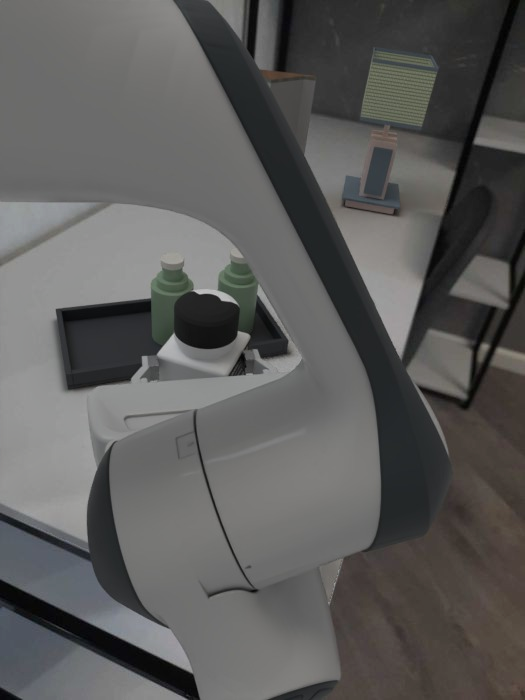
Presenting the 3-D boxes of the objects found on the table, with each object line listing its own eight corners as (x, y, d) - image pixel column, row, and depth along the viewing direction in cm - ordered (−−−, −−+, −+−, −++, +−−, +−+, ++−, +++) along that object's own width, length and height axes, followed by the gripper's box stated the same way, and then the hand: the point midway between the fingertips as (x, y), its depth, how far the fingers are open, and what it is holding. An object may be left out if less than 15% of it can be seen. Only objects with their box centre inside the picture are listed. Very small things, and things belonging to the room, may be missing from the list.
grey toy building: (296, 202, 128) (315, 75, 111) (299, 218, 120) (320, 85, 103) (210, 194, 126) (217, 64, 109) (208, 210, 118) (215, 73, 101)
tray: (67, 389, 68) (65, 374, 67) (57, 322, 79) (55, 308, 78) (286, 353, 79) (288, 340, 78) (250, 299, 90) (252, 286, 89)
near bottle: (156, 350, 76) (155, 271, 68) (148, 326, 80) (145, 249, 72) (196, 344, 78) (199, 266, 70) (186, 321, 82) (188, 246, 74)
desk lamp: (397, 218, 126) (440, 68, 106) (340, 208, 127) (371, 58, 108) (395, 192, 141) (433, 56, 121) (344, 183, 142) (372, 46, 122)
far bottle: (222, 340, 79) (228, 264, 71) (210, 318, 84) (214, 244, 76) (258, 335, 81) (268, 260, 73) (245, 313, 86) (253, 241, 78)
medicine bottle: (222, 430, 51) (230, 331, 44) (156, 409, 52) (153, 310, 45) (245, 385, 57) (256, 292, 50) (185, 368, 58) (187, 274, 51)
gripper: (362, 430, 40) (308, 325, 50) (81, 460, 35) (85, 337, 45) (345, 482, 44) (298, 374, 54) (89, 516, 39) (92, 390, 49)
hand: (199, 357), depth 50 cm, fingers closed on medicine bottle, 8 cm apart
